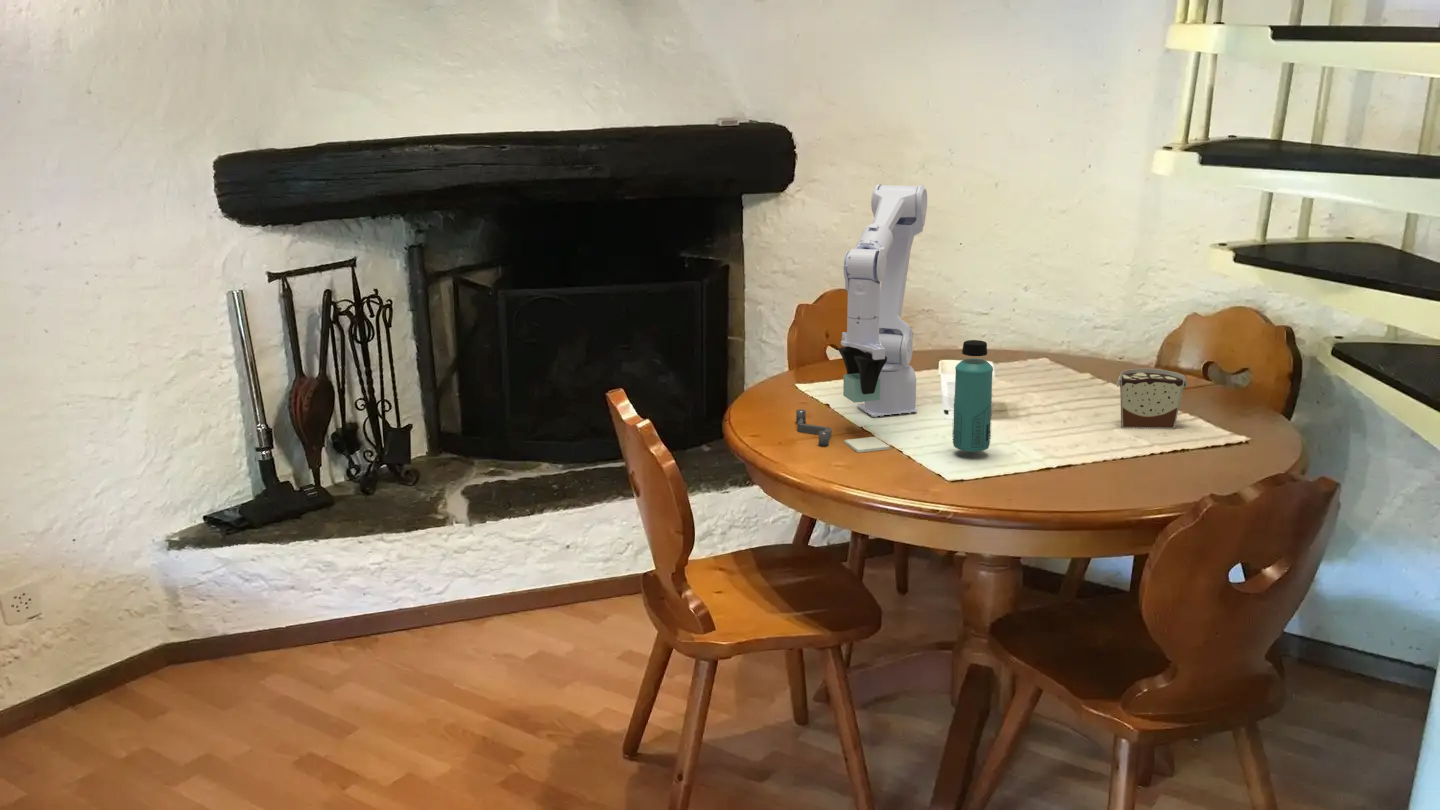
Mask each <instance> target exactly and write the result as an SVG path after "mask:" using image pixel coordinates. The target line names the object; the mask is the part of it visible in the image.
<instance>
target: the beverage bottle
mask: <svg viewBox="0 0 1440 810" xmlns="http://www.w3.org/2000/svg"><path fill="white" fill-rule="evenodd" d="M962 343H963V345H962V349H961V351H962V352H961V353H962V355H965V356H969V357H982V356H983V357H985V356H986V355H988V343H987V342H986V341H984V340H980V339H979V340H978V339H968V340H964V341H963V342H962ZM954 370H955V377H954V378H955V379H954V396H953V401H954V402H953V404H952V405H953V411H952V412H953V413H952V414H953V424H952V431H951V432H952V434H951V436H952V438H951V439H952V440H951V441H952V445H953V447H954V448H955V449H957V450H960V451H964V452H983V451H986V450H988V449H989V447H990V445H991V439H992V435H991V426H992V422H991V421H992V419H993V418H992V412H993V406H992V403H993V399H992V398H993V395H994V394H993V371H994V367H993V366H992V364H991V363H989V362H988V361H987V360H986V359H984V358H983V359H982V358H964V359H962V360H961V361H959V363H957V364H956V365H955V369H954Z"/></svg>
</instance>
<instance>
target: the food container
mask: <svg viewBox="0 0 1440 810" xmlns="http://www.w3.org/2000/svg"><path fill="white" fill-rule="evenodd" d="M1187 382H1188V381H1187V378H1186V376H1185V375H1184V374H1181V373H1179V372H1175V371H1172V370H1171V371H1170V370H1165V369H1157V368H1131V369H1125V370H1123V371H1121V372H1120V375H1119V376H1118V379H1117V382H1116V387H1117V388H1118V387H1120V388H1119V391H1120V394H1119V395H1120V427H1121V429H1133V428H1135V429H1136V428H1137V429H1138V430H1139V429H1143V430H1144V429H1145V428H1146V430H1147V428H1148V430H1151V429H1152V430H1156V429H1157V430H1175V429H1176V422H1177V419H1178V414H1179V409H1180V405H1181V400H1182V395H1183V390H1184V388H1188V383H1187ZM1119 385H1120V386H1119Z"/></svg>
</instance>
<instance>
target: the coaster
mask: <svg viewBox="0 0 1440 810" xmlns="http://www.w3.org/2000/svg"><path fill="white" fill-rule="evenodd" d="M843 441H844V444H846V445H847V446H848V447H849V448H851V449H852V450H854V451H855V452H857V453H858V454H861V453H869V452H876V451H884V450H890V445H888V444H887V443H885V442H884V441H882V440H880V438H879V437H876V436H869V437H861V438H853V439H852V438H851V439H850V438H849V439H845V440H844V439H843Z"/></svg>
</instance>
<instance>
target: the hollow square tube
mask: <svg viewBox="0 0 1440 810" xmlns="http://www.w3.org/2000/svg"><path fill="white" fill-rule="evenodd" d="M842 385H843V387H842V388H843V389H842V390H843V392H842V393H843V395H842V396H843V397H845V398H846V399H848V400H850V401H851V402H853V403H854V404H855V403H863V402H864V403H865V401H875V400H880V378H878V381H877V385H876V388H875V392H874V393H873V394H863V393H862V390H861V382H860V374H859V373H855V374H847V373H845V374H843V384H842Z"/></svg>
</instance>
